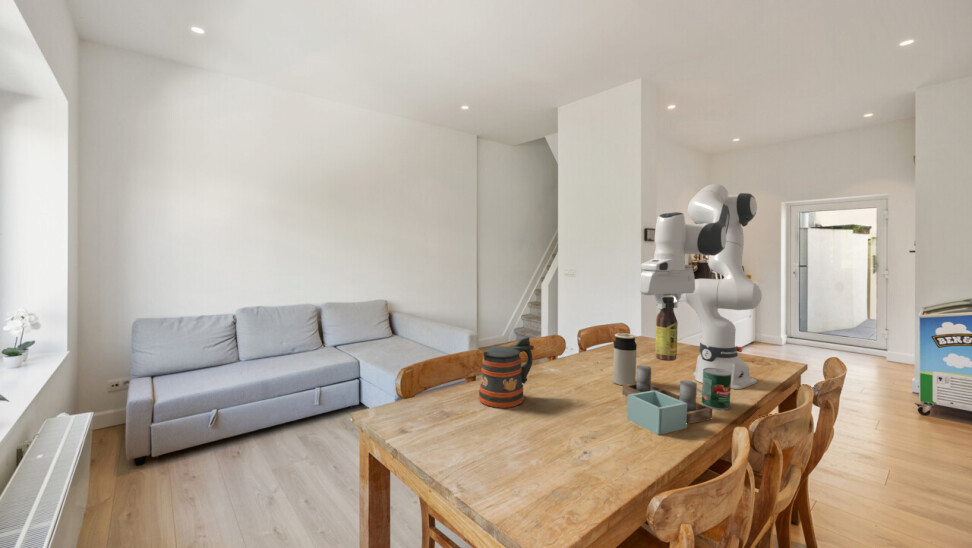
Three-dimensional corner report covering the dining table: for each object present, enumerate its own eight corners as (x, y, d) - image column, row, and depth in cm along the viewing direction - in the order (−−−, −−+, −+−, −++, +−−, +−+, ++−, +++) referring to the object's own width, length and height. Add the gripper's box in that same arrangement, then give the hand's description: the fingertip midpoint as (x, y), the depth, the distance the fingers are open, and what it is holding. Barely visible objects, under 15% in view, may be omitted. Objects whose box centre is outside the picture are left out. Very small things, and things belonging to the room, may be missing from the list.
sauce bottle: (674, 363, 122) (675, 298, 121) (652, 359, 126) (653, 297, 125) (678, 358, 127) (680, 296, 126) (658, 355, 131) (659, 295, 130)
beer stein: (516, 387, 143) (517, 331, 142) (543, 400, 130) (544, 339, 129) (470, 397, 133) (471, 337, 131) (494, 412, 120) (495, 346, 119)
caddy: (653, 412, 121) (654, 390, 121) (686, 428, 111) (687, 403, 110) (626, 418, 117) (627, 394, 117) (658, 434, 106) (659, 409, 106)
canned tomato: (724, 411, 123) (725, 376, 122) (697, 404, 129) (698, 370, 128) (733, 405, 128) (735, 372, 127) (707, 398, 134) (709, 366, 133)
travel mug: (612, 385, 146) (614, 336, 145) (612, 378, 154) (614, 332, 153) (636, 387, 144) (637, 338, 143) (634, 380, 152) (636, 333, 151)
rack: (644, 390, 141) (645, 362, 141) (712, 418, 117) (713, 385, 117) (622, 393, 137) (623, 365, 137) (687, 424, 113) (689, 389, 113)
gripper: (684, 263, 132) (682, 305, 133) (636, 264, 124) (635, 308, 124) (701, 264, 126) (699, 308, 127) (652, 265, 118) (651, 311, 119)
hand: (667, 308), depth 126 cm, fingers closed on sauce bottle, 4 cm apart
